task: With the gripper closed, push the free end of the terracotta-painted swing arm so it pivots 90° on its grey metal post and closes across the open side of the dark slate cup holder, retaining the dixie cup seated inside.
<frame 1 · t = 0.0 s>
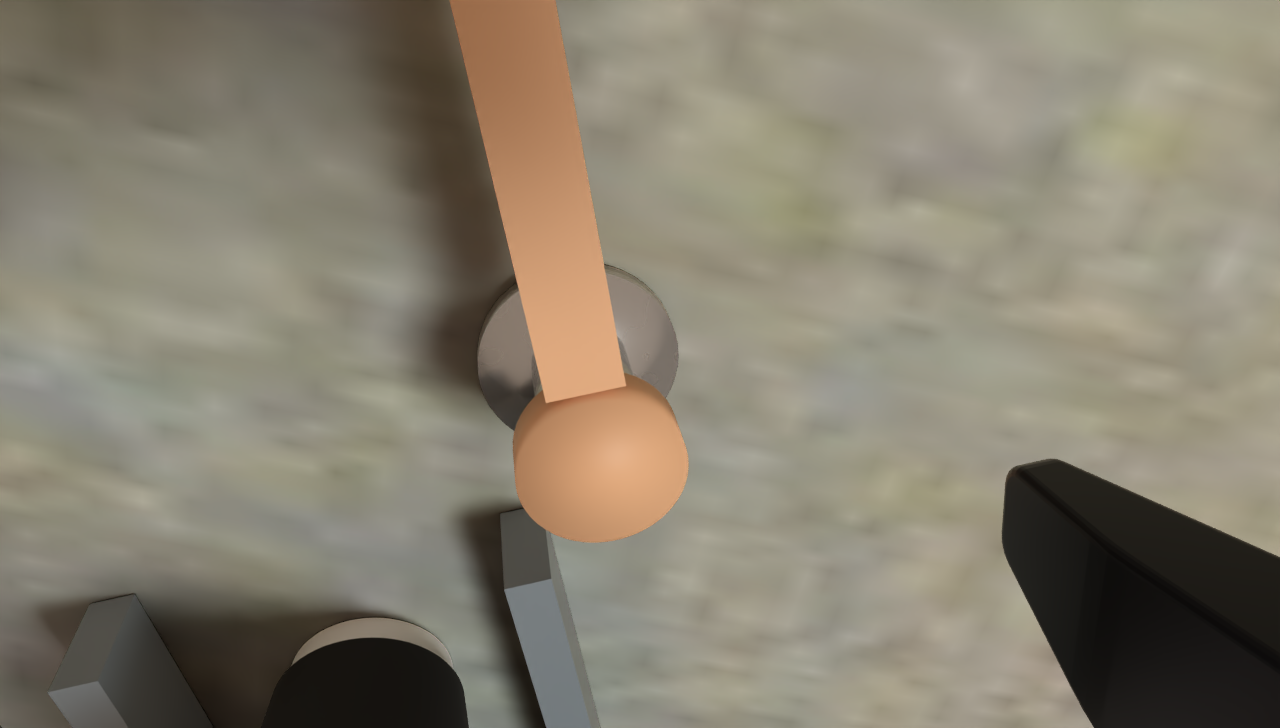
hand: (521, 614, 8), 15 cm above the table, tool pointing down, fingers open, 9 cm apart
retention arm: (558, 262, 18), point 5 cm above the table, hinge at 0.0°
dixie cup: (373, 670, 28), on the table
holder: (373, 676, 28), on the table
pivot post: (577, 352, 24), on the table
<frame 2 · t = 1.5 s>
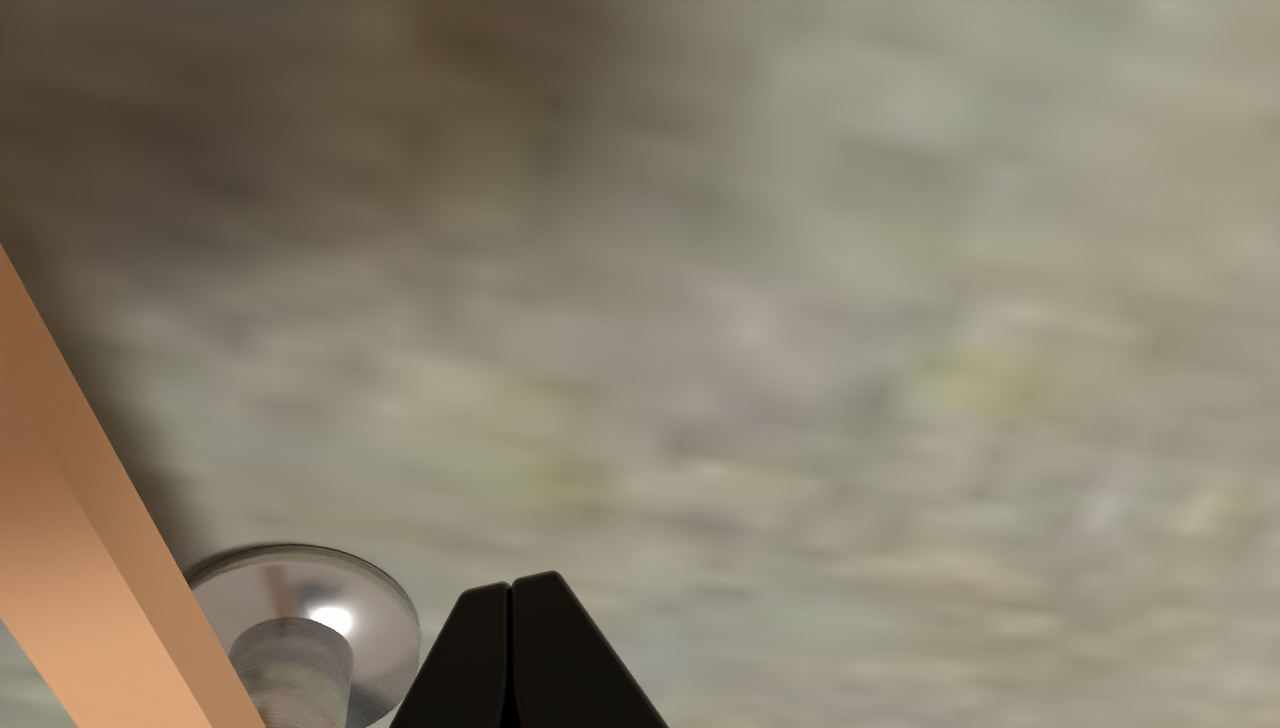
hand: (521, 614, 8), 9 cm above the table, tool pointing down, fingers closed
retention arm: (136, 657, 13), point 5 cm above the table, hinge at 0.0°
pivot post: (296, 638, 19), on the table
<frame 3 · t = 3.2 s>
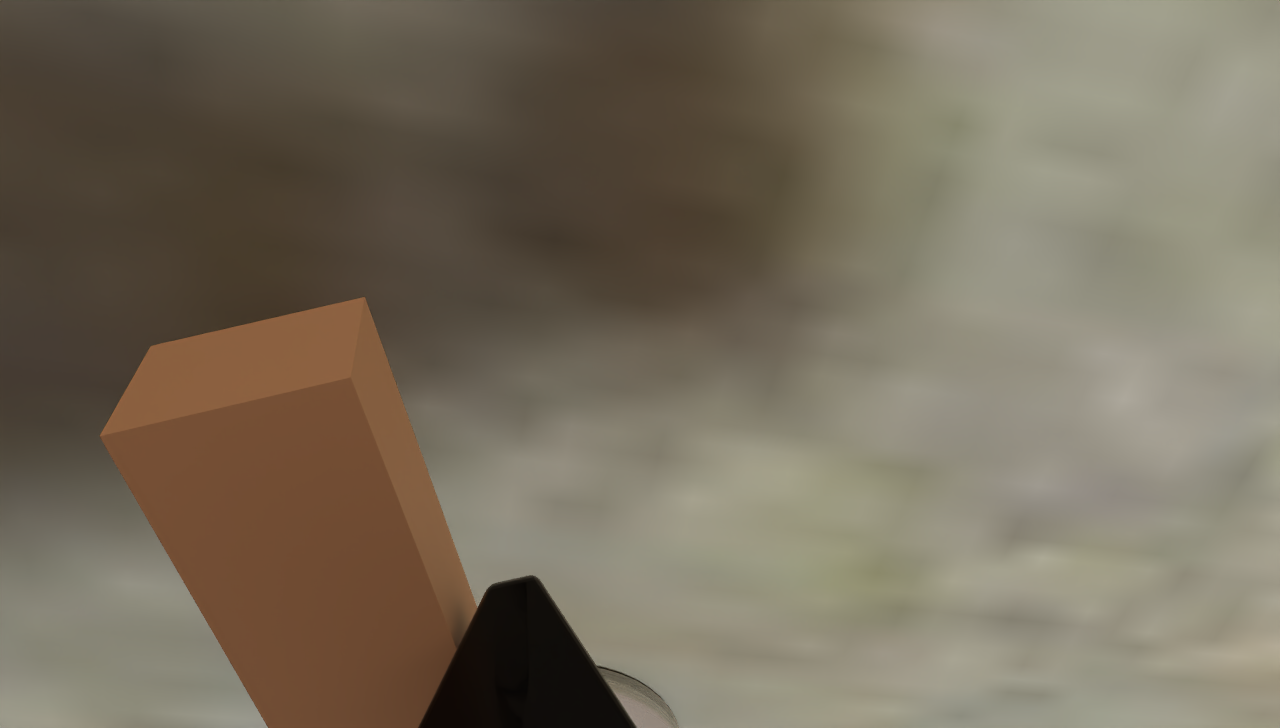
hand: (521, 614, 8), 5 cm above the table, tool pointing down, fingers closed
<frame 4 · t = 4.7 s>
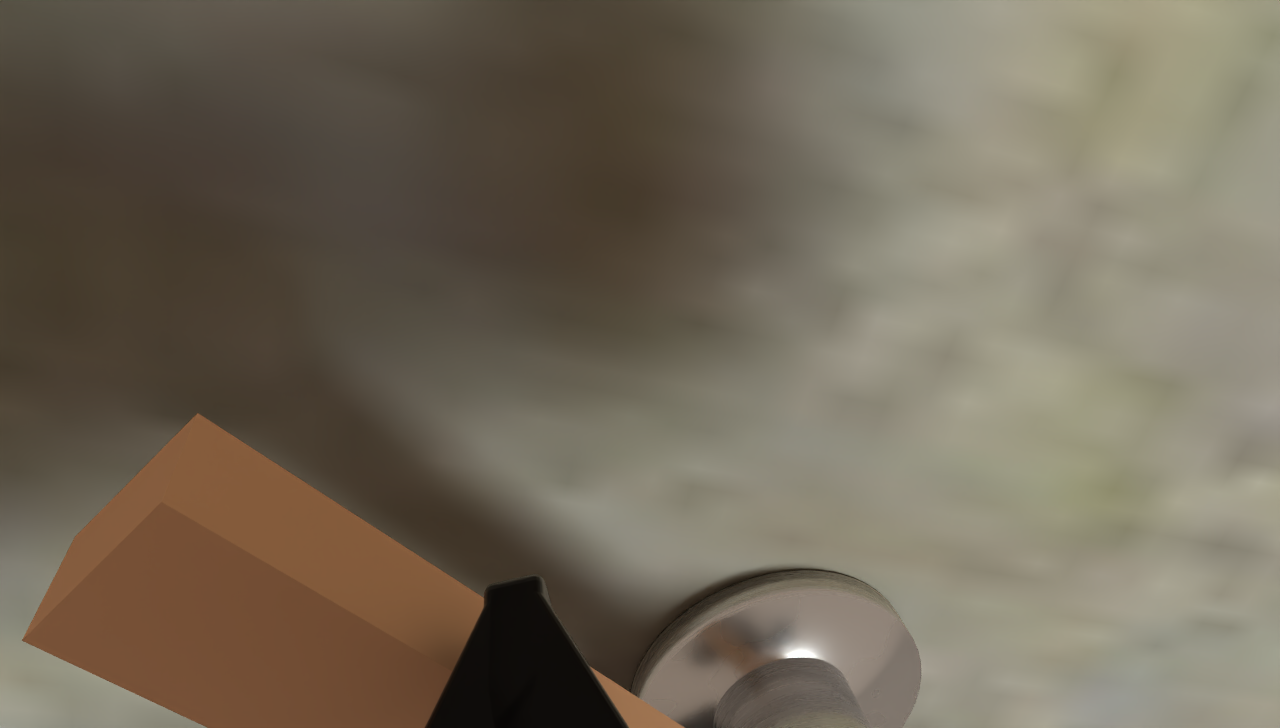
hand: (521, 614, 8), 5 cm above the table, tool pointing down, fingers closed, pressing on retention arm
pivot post: (770, 682, 16), on the table
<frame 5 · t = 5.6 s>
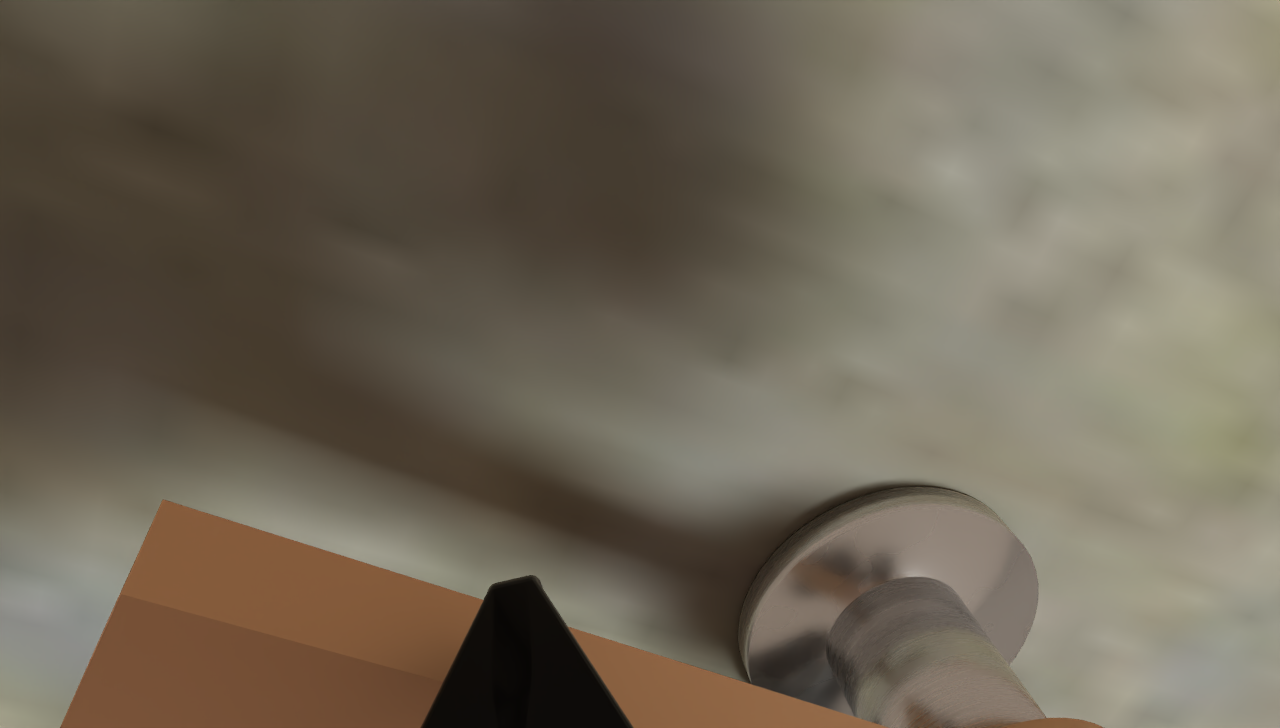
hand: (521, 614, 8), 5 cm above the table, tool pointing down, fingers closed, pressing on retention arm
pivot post: (880, 609, 16), on the table
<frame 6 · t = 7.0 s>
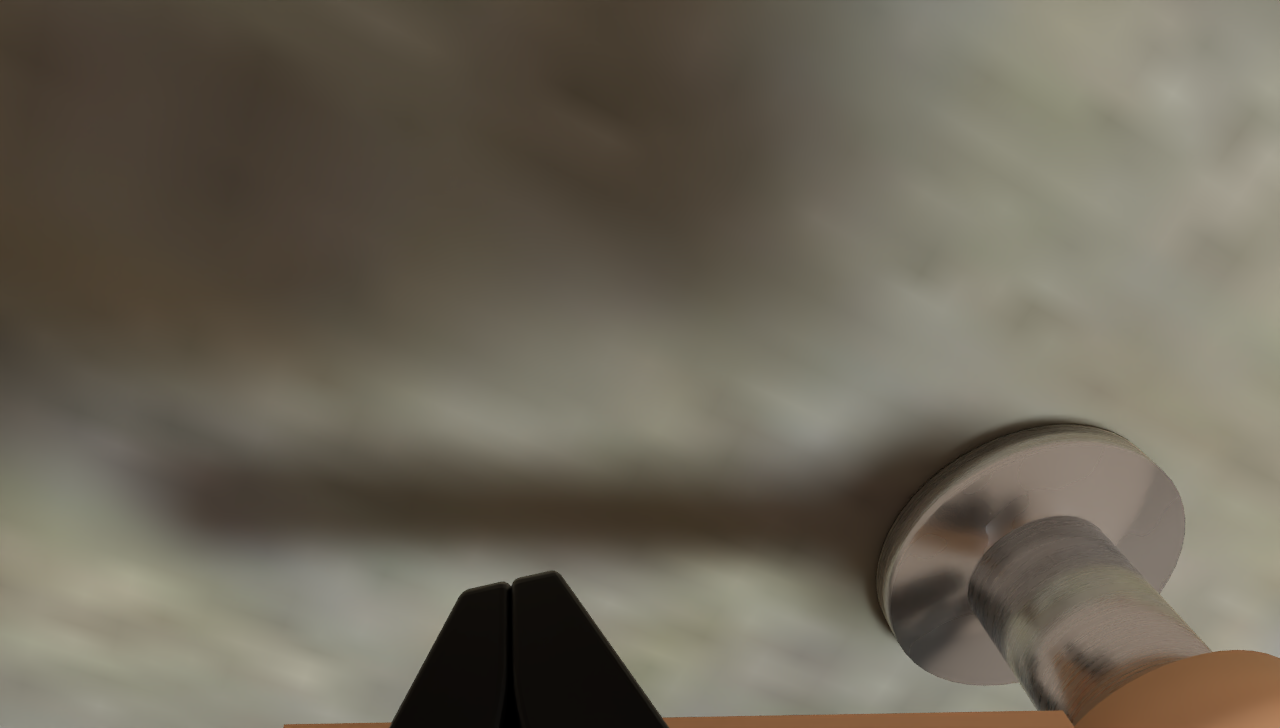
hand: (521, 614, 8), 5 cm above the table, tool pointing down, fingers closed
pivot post: (1019, 550, 16), on the table
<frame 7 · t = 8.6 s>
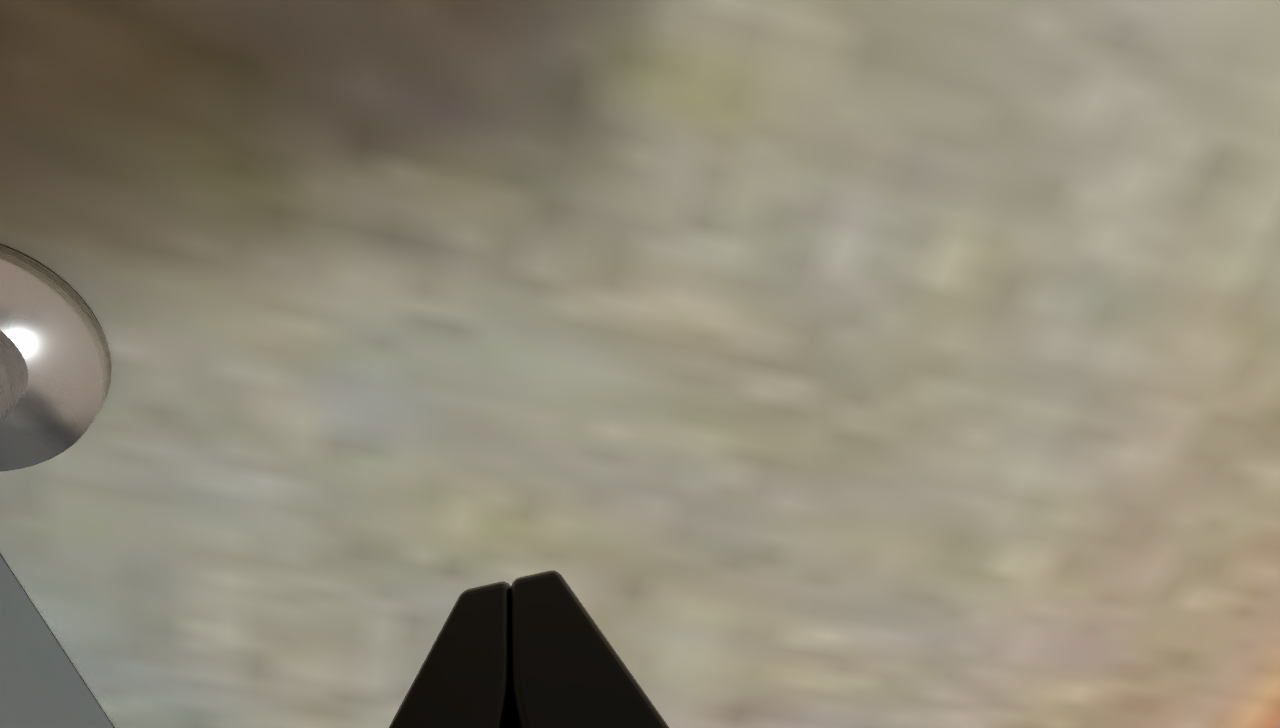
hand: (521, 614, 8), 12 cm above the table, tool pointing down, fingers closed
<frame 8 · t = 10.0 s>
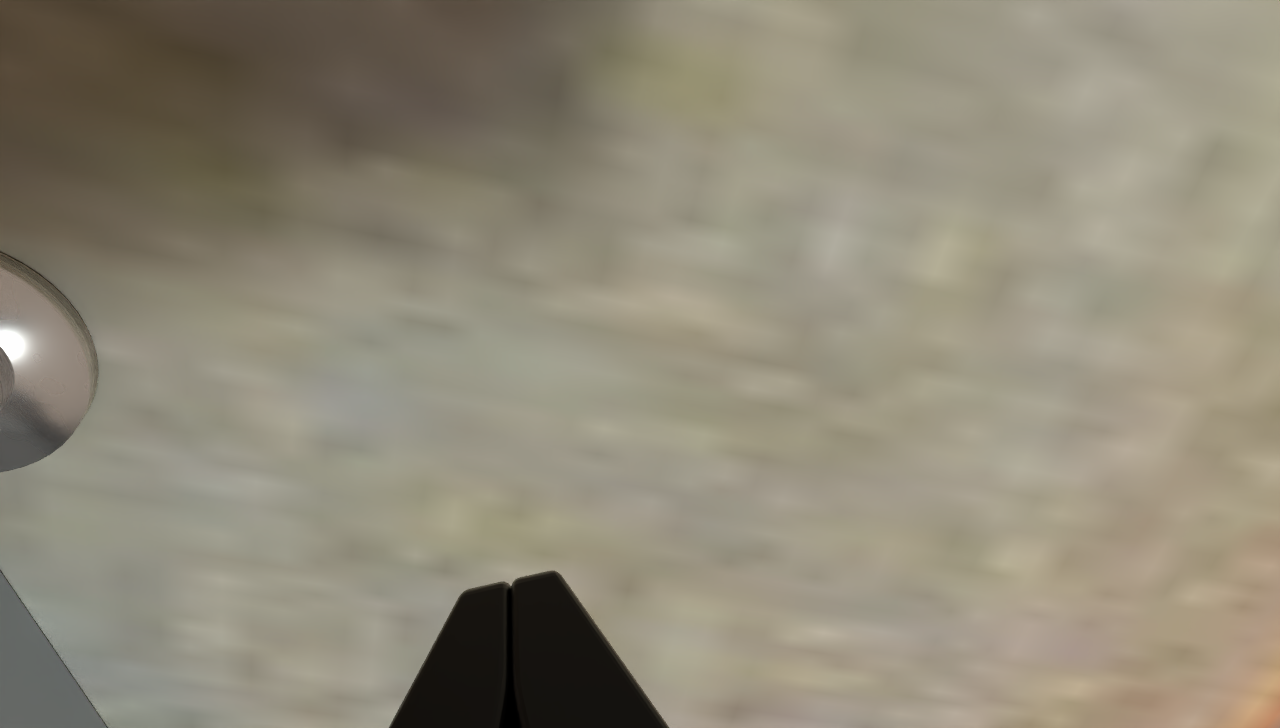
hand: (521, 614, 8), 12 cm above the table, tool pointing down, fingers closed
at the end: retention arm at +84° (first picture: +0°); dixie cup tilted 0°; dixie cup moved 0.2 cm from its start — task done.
